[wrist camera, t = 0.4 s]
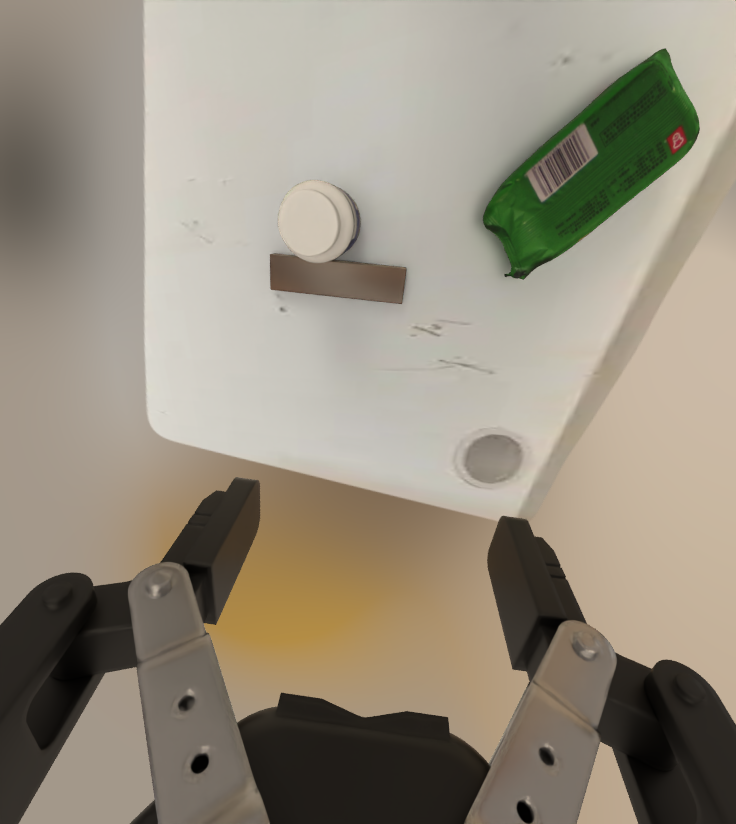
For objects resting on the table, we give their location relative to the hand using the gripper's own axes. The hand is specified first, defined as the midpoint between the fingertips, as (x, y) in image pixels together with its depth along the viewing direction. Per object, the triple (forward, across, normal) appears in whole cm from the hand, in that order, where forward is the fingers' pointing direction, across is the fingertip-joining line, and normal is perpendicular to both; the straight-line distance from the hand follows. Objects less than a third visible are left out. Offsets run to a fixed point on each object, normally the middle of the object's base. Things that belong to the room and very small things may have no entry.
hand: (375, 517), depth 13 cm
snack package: (+28, -12, -13) cm, 33 cm away
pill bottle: (+28, +6, -8) cm, 30 cm away
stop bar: (+28, +5, -3) cm, 28 cm away
